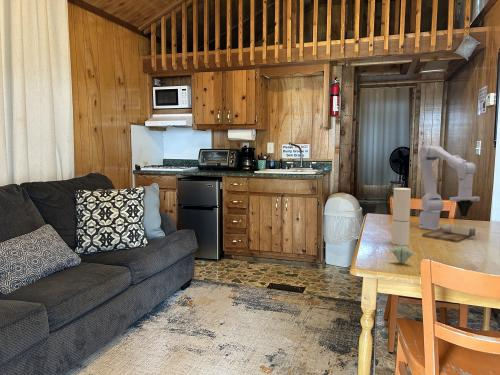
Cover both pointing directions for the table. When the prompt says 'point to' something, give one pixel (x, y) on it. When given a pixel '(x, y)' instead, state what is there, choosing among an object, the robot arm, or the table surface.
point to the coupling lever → (458, 230)
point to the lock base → (445, 235)
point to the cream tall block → (401, 216)
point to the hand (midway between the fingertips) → (463, 216)
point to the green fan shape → (402, 254)
